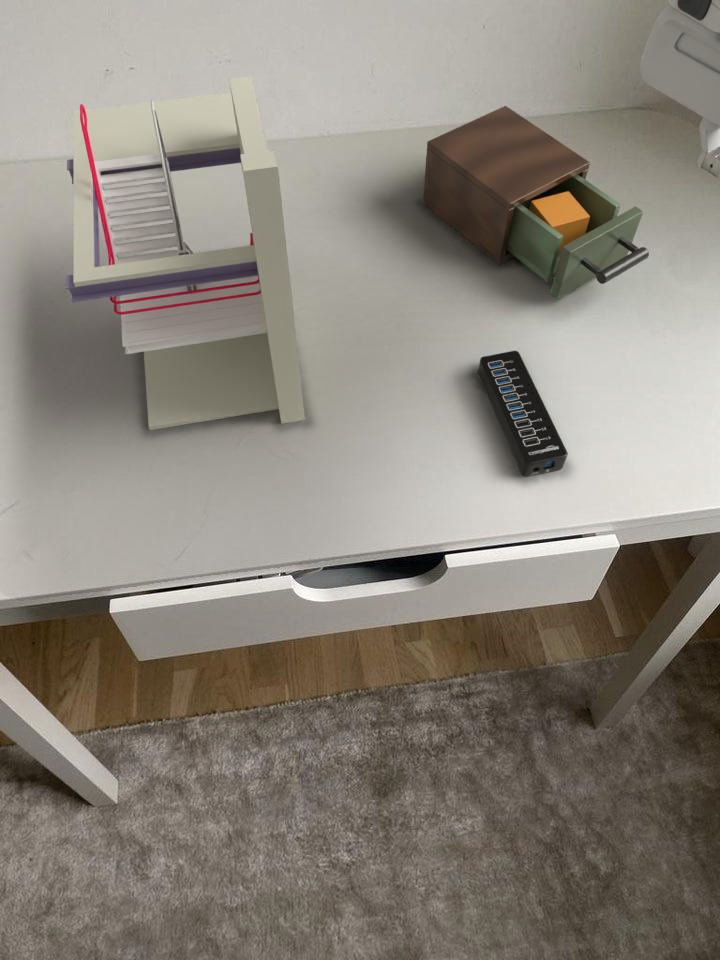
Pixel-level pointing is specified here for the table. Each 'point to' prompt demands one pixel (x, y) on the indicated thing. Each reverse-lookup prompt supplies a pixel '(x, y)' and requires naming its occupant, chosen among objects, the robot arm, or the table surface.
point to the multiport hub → (521, 414)
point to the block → (562, 216)
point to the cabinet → (493, 175)
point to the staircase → (188, 258)
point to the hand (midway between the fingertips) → (713, 171)
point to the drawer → (577, 240)
